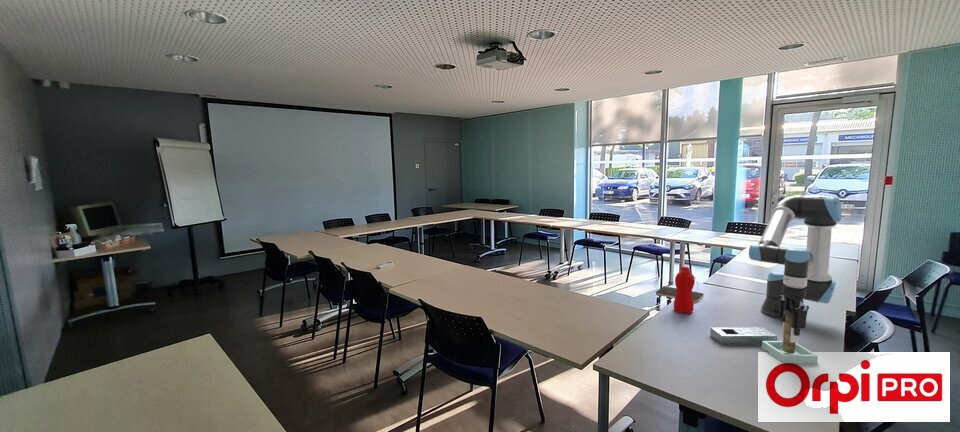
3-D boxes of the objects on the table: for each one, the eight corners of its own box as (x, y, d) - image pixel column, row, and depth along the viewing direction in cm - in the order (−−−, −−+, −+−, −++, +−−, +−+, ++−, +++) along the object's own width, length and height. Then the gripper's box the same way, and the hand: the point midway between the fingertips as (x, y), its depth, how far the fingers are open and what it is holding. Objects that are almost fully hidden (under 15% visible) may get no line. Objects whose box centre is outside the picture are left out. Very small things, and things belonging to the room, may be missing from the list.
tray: (792, 347, 166) (792, 341, 166) (817, 362, 153) (817, 355, 153) (761, 347, 167) (762, 341, 166) (783, 362, 154) (784, 355, 154)
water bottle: (695, 316, 203) (697, 270, 199) (672, 311, 209) (674, 267, 206) (697, 310, 210) (700, 266, 207) (675, 306, 216) (677, 263, 213)
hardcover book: (696, 304, 221) (696, 300, 221) (655, 295, 237) (655, 291, 236) (703, 296, 233) (703, 293, 232) (663, 289, 248) (663, 285, 248)
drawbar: (762, 335, 178) (763, 327, 178) (776, 344, 169) (777, 336, 169) (710, 335, 179) (710, 327, 179) (721, 344, 170) (721, 336, 170)
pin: (790, 348, 162) (793, 308, 160) (799, 354, 157) (803, 313, 155) (777, 348, 163) (780, 308, 160) (786, 354, 157) (790, 313, 155)
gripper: (770, 279, 165) (766, 330, 168) (801, 292, 148) (796, 349, 151) (788, 279, 164) (783, 330, 167) (821, 292, 148) (815, 349, 151)
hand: (789, 339), depth 159 cm, fingers closed on pin, 4 cm apart
